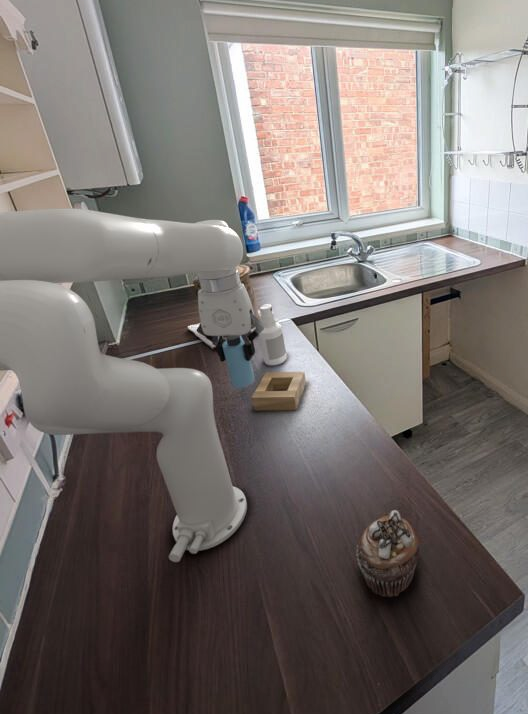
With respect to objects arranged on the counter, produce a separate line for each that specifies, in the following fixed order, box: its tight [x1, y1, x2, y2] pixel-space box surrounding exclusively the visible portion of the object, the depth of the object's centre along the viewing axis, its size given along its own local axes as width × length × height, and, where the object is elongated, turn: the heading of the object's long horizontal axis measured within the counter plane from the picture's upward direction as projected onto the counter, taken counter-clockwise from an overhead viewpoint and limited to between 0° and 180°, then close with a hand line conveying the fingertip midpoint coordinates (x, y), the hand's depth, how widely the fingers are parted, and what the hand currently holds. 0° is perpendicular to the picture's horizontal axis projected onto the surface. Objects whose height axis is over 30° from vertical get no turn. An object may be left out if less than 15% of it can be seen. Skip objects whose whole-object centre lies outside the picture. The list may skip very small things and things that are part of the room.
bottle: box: [222, 335, 255, 389], centre depth 89 cm, size 5×5×12 cm
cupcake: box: [355, 509, 420, 598], centre depth 61 cm, size 10×10×10 cm
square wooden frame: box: [251, 371, 307, 412], centre depth 105 cm, size 11×11×4 cm
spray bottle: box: [258, 303, 288, 366], centre depth 119 cm, size 7×7×18 cm
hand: (237, 357), depth 89 cm, fingers closed on bottle, 5 cm apart
